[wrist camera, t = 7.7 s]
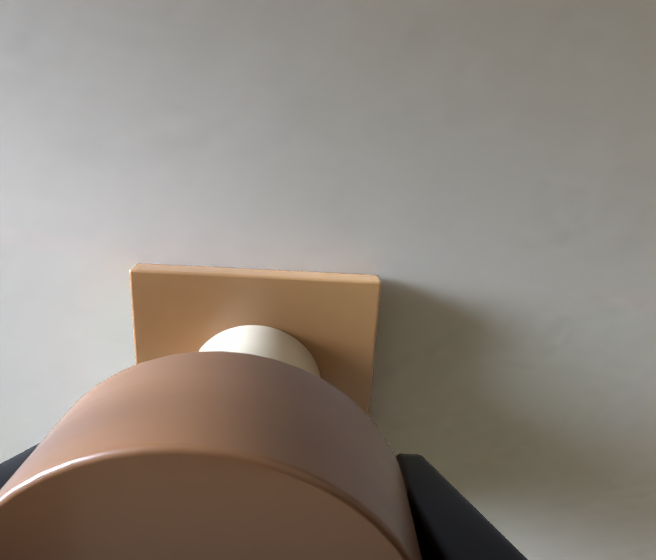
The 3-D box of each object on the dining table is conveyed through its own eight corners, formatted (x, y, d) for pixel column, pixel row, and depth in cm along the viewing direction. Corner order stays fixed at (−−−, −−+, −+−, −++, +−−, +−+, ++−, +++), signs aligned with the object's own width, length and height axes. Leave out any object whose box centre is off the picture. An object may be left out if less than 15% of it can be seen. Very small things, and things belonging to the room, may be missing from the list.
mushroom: (367, 489, 11) (409, 812, 6) (139, 481, 11) (-23, 807, 6) (388, 273, 10) (471, 457, 4) (123, 260, 10) (-118, 436, 4)
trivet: (360, 473, 12) (362, 488, 11) (149, 465, 12) (142, 480, 11) (379, 274, 10) (382, 282, 10) (137, 262, 10) (128, 269, 10)
